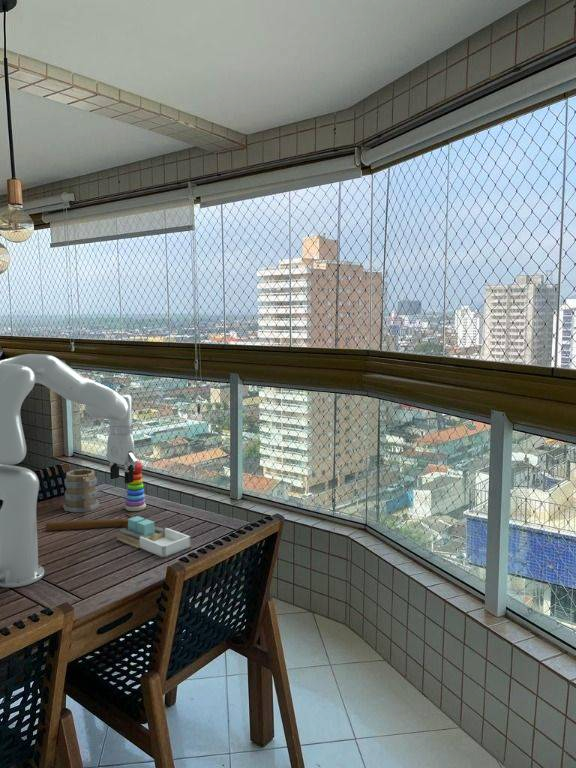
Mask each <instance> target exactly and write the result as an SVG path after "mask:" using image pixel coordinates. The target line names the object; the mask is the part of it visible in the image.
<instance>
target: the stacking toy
mask: <svg viewBox="0 0 576 768" xmlns="http://www.w3.org/2000/svg"><path fill="white" fill-rule="evenodd" d="M129 466H130V464H129V465H128V467H129ZM142 471H143V464H142V462H141V461H138V463H137V465H136V467H135V470H134V471H133V473H134V481H133V482H131V483H127V490H126V496H125V497H126V499H125V501H124V503H125V505H124V509H125V510H126V511H128V512H138V511H143V510H144V509H145V508H146V507H147V503H146V499H145V497H146V494H145V489H144V484H143V479H142V478H143V473H141V472H142Z"/></svg>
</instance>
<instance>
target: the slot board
mask: <svg viewBox="0 0 576 768" xmlns="http://www.w3.org/2000/svg"><path fill="white" fill-rule="evenodd" d="M154 527H155V534H152V535H149V536H146V537H145V536H144V535H141V534H139V533H136V532H134V531H131V530H128V529H127V527H123V528H121V529H119V532H117V533H116V540H118V541H120V542H122V543H125V544H127V545H129V546H132V547H133V548H140V537H144V538H147V539H149V540H152V541H156V540H158V539H161V538H164V537H165V528H161V527H160V526H156V525H154Z"/></svg>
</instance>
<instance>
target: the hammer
mask: <svg viewBox="0 0 576 768" xmlns="http://www.w3.org/2000/svg"><path fill="white" fill-rule="evenodd" d="M124 516H125V517H126V518H115V519H97V520H96V519H93V520H92V519H88V520H87V519H86V520H85V519H84V520H67V521H46V523H45V531H46V532H52V530H53V531H54V530H57V531H70V530H71V531H73V530H74V531H76V530H88V529H99V528H100V529H101V528H102V529H103V528H126V529H128V519H130V518H133V517H135V516H134V515H132V514H128V513H125V514H124ZM75 529H76V530H75ZM54 532H55V531H54Z"/></svg>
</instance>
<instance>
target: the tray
mask: <svg viewBox="0 0 576 768" xmlns="http://www.w3.org/2000/svg"><path fill="white" fill-rule="evenodd" d="M164 530H165V537H164V538H161V539H158V540H156V541H152V540H149V539H147V538H144V537H140V547H139V549H141V550H144V551H146V552H149V553H151V554H154V555H155V556H158V557H161V558H163V559H164V558H167V557H169V556H171V555H174V554H177V553H179V552H181V551H185V550H187V549H189V548H191V547H192V536H190V535H189V534H188V535H187V534H184V533H182V532H180V531H177V530H173V529H171V528H169V527H165V528H164ZM184 549H185V550H184Z"/></svg>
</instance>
